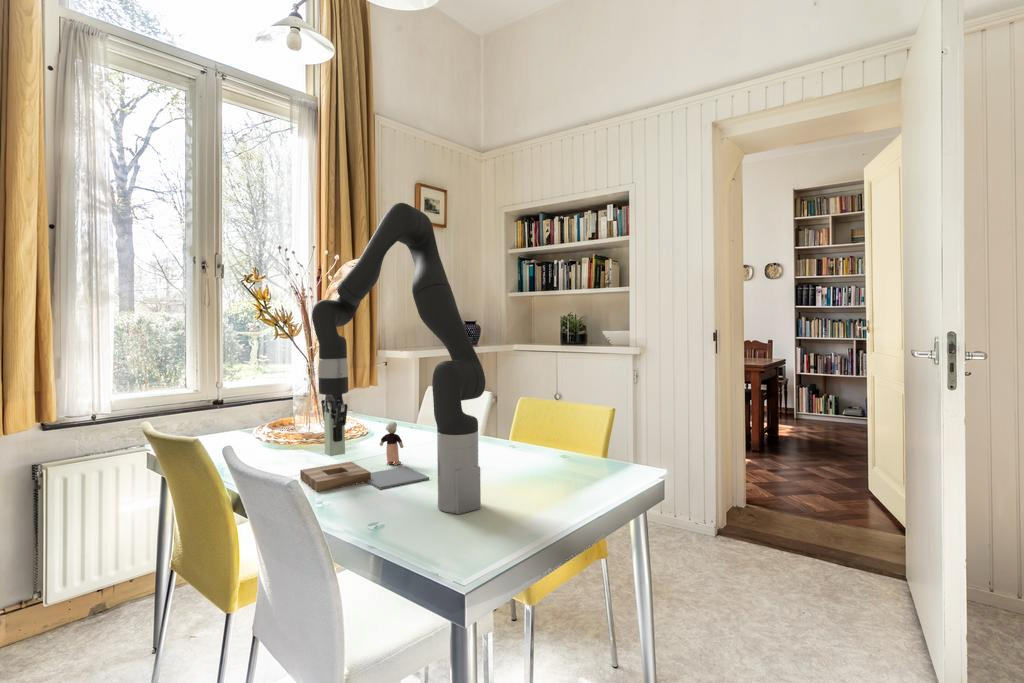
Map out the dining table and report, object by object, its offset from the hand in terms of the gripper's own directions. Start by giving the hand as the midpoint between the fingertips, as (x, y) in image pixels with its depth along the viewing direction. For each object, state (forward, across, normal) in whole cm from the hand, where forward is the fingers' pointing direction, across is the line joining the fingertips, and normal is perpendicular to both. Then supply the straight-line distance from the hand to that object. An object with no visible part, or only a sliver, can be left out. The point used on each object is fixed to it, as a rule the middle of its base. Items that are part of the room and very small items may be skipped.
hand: (334, 439), depth 141 cm
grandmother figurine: (+11, +6, -19) cm, 23 cm away
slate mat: (+11, -8, -13) cm, 19 cm away
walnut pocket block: (+11, 0, 0) cm, 11 cm away
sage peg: (+4, 0, 0) cm, 4 cm away
